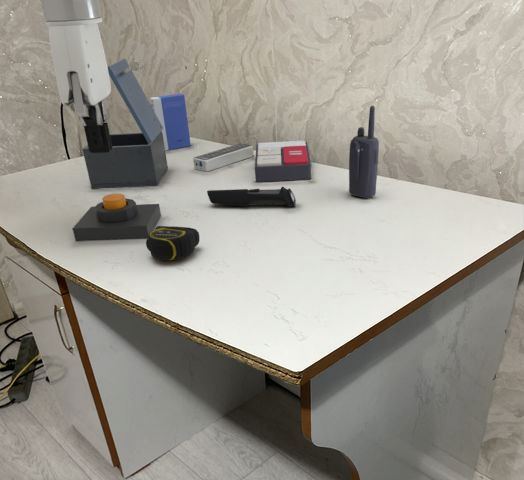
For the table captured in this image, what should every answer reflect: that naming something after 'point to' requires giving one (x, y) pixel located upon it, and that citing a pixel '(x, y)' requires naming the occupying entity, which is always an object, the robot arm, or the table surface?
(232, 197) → the electric trimmer
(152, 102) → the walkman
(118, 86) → the compartment lid
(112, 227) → the control block
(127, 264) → the table surface
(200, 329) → the table surface
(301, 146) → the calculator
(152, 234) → the tape measure
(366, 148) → the two-way radio
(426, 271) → the table surface
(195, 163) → the multiport hub
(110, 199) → the button
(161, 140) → the compartment
